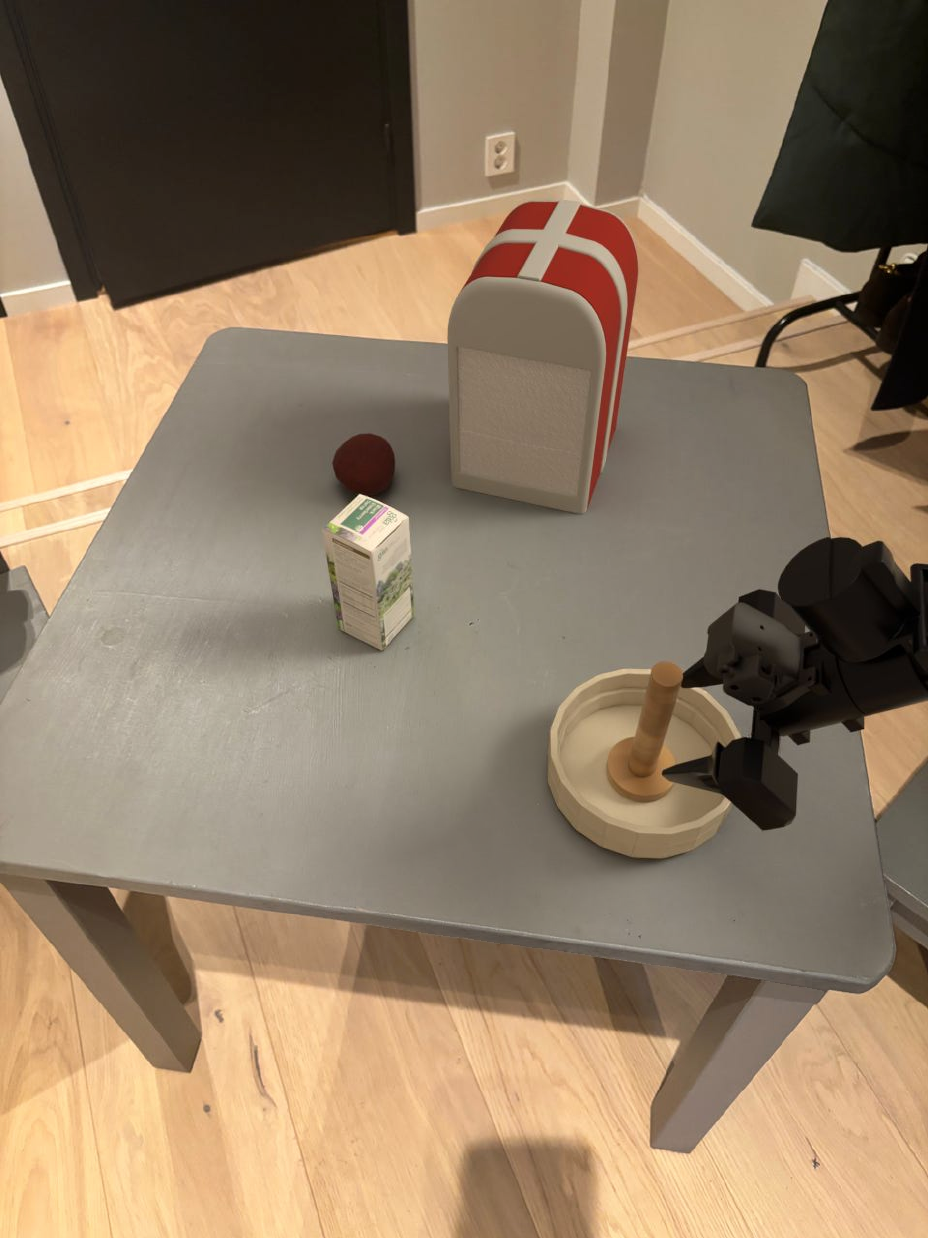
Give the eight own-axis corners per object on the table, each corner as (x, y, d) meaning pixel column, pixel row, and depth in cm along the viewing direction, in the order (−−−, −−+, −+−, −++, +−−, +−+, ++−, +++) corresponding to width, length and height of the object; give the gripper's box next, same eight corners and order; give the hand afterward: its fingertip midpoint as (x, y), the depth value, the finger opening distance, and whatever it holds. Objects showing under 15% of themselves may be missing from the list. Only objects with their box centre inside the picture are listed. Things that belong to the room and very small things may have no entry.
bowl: (745, 730, 83) (758, 698, 79) (712, 888, 73) (725, 861, 69) (576, 680, 86) (580, 648, 82) (522, 824, 77) (525, 795, 73)
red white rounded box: (447, 486, 104) (440, 267, 84) (492, 398, 115) (495, 185, 94) (586, 515, 101) (615, 295, 80) (619, 422, 112) (651, 206, 91)
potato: (322, 498, 103) (315, 458, 99) (352, 455, 108) (347, 414, 104) (381, 513, 102) (376, 473, 97) (409, 468, 107) (406, 427, 102)
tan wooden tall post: (656, 735, 82) (685, 634, 70) (686, 792, 78) (721, 694, 67) (595, 753, 80) (614, 653, 69) (622, 810, 77) (647, 715, 66)
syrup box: (370, 594, 94) (356, 489, 83) (417, 617, 92) (409, 512, 81) (337, 630, 91) (318, 526, 80) (384, 654, 89) (371, 551, 78)
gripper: (800, 511, 65) (629, 585, 75) (787, 720, 53) (587, 773, 64) (877, 604, 69) (706, 661, 80) (881, 815, 58) (680, 849, 68)
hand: (672, 728), depth 73 cm, fingers open, 9 cm apart
